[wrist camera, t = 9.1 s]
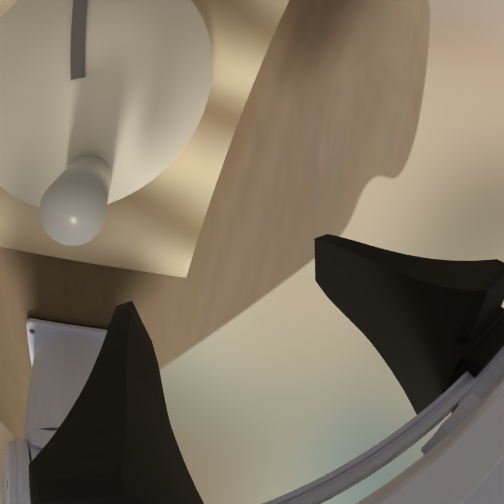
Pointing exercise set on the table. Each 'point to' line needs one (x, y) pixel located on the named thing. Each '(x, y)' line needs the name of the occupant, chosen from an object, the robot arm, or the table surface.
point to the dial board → (179, 171)
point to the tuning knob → (96, 102)
